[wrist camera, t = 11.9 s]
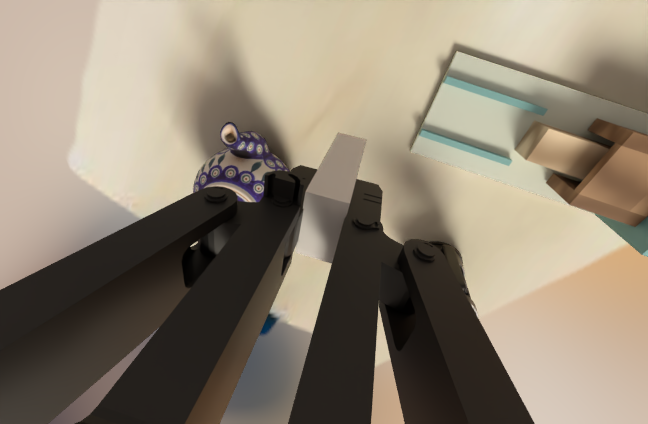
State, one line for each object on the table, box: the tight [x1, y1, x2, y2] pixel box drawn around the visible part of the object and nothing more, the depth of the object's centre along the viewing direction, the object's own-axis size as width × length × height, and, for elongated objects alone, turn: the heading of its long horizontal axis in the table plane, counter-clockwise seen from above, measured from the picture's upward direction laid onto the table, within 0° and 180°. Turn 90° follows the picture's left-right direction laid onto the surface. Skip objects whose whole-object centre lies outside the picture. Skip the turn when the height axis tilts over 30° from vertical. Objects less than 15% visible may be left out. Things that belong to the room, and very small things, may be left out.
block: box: [546, 118, 648, 227], centre depth 34 cm, size 9×8×6 cm
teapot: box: [193, 122, 290, 202], centre depth 43 cm, size 25×15×15 cm, turn 168°
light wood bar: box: [515, 120, 612, 180], centre depth 35 cm, size 4×12×4 cm, turn 74°
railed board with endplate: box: [410, 51, 648, 257], centre depth 34 cm, size 13×29×10 cm, turn 75°
